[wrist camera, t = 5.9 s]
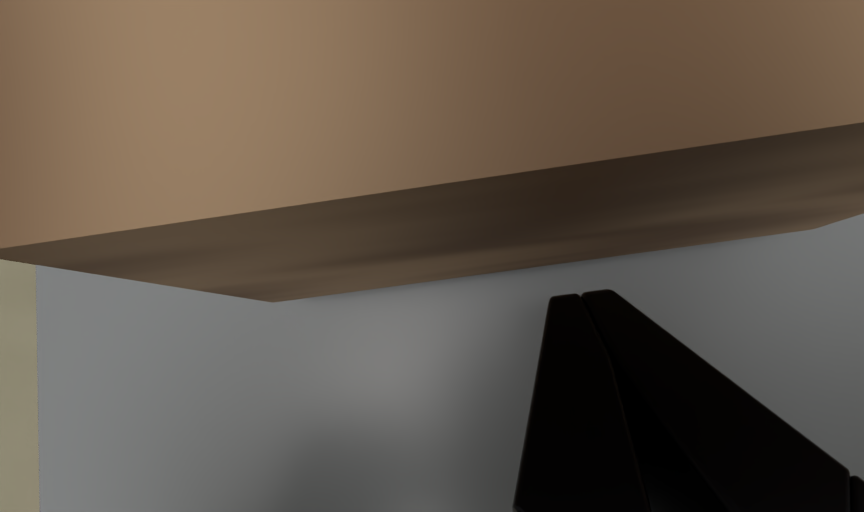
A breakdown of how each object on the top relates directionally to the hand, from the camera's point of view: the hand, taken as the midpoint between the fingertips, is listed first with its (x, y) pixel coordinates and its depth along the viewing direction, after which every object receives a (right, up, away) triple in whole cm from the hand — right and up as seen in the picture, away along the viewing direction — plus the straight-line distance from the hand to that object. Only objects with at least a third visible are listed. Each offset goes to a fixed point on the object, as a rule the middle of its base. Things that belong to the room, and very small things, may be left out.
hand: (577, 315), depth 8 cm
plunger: (-1, +6, +5) cm, 8 cm away
